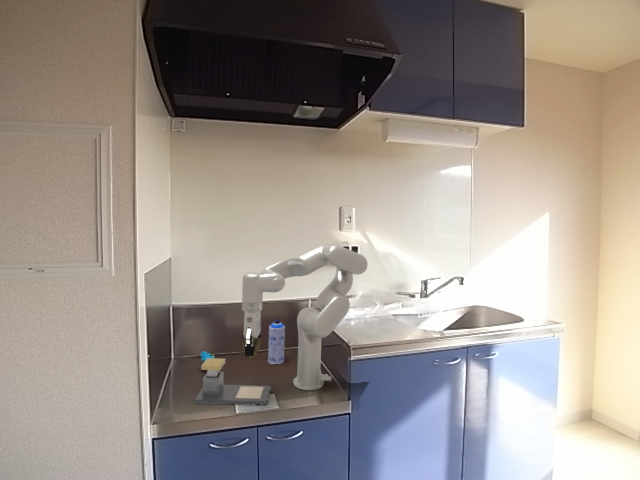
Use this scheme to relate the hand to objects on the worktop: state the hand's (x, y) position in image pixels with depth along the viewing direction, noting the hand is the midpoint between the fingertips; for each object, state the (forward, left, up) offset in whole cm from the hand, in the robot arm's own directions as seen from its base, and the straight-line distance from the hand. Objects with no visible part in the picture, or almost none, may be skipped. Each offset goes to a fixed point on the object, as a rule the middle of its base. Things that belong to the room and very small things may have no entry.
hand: (251, 351), depth 132 cm
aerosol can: (-6, -34, -18) cm, 39 cm away
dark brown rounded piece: (0, 0, -2) cm, 2 cm away
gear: (+23, -24, -18) cm, 37 cm away
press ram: (+14, 0, -12) cm, 19 cm away
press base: (+6, 0, -17) cm, 18 cm away
